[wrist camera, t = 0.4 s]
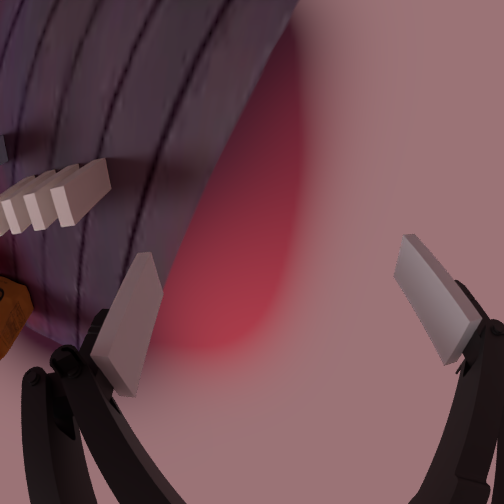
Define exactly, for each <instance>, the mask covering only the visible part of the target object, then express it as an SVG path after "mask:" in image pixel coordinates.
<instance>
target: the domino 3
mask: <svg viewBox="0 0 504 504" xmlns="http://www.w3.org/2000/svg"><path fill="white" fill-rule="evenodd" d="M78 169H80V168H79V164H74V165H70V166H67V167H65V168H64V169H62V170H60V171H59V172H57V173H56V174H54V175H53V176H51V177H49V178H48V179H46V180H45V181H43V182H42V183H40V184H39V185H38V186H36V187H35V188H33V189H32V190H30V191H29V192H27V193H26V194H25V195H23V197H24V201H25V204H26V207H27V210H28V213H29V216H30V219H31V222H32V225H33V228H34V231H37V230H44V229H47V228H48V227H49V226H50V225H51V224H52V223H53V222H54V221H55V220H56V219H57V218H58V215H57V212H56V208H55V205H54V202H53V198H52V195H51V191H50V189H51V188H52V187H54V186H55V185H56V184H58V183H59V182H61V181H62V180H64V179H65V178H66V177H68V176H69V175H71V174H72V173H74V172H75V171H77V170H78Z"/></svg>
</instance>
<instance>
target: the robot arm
mask: <svg viewBox="0 0 504 504" xmlns="http://www.w3.org/2000/svg"><path fill="white" fill-rule="evenodd" d="M394 278H395V279H396V281H397V282H398V284H399V285H400V287H401V289H402V291H403V292H404V294H405V295H406V297H407V299H408V300H409V302H410V304H411V305H412V307H413V309H414V311H415V312H416V314H417V316H418V317H419V319H420V321H421V323H422V325H423V326H424V328H425V330H426V332H427V334H428V335H429V337H430V339H431V341H432V343H433V344H434V346H435V348H436V350H437V352H438V354H439V356H440V358H441V360H442V362H443V364H444V365H448V364H451V363H454V362H457V360H458V359H459V357H460V356H461V354H462V353H463V355H464V357H465V359H464V361H463V362H462V364H461V365H460V367H459V368H458V370H457V371H456V374H458V372H459V371H460V370H461V371H460V376H459V380H458V385H457V389H456V392H455V396H454V400H453V403H452V407H451V410H450V414H449V417H448V420H447V423H446V426H445V429H444V432H443V435H442V438H441V440H440V443H439V446H438V448H437V451H436V453H435V456H434V458H433V461H432V463H431V465H430V468H429V470H428V472H427V475H426V477H425V479H424V481H423V483H422V485H421V487H420V489H419V491H418V493H417V494H416V495H415V496H414V497H413V498H412V500H411V501H410V502H409V503H408V504H486V503H487V501H488V498H489V495H490V486H489V485H488V484H487V483H486V479H487V475H488V472H489V469H490V465H491V462H492V458H493V454H494V450H495V446H496V442H497V460H496V472H495V481H494V488H493V495H492V502H491V504H504V324H503V323H502V322H500V321H498V320H495V319H491V320H490V319H489V317H488V316H487V314H486V313H485V312H484V310H483V309H482V307H481V306H480V305H479V303H478V302H477V301H476V300H475V298H474V297H473V296H472V294H470V292H469V290H468V289H467V288H466V287H465V285H463V284H462V283H461V282H459V281H458V280H453V278H452V277H451V276H450V275H449V273H447V271H446V270H445V268H444V267H443V266H442V265H441V264H440V262H439V261H438V260H437V259H436V258H435V257H434V255H433V254H432V253H431V252H430V251H429V250H428V248H427V247H426V246H425V245H424V244H423V243H422V242H421V241H420V239H419V238H418V237H417V236H416V235H415V234H408V235H403V238H402V243H401V247H400V252H399V256H398V261H397V264H396V269H395V273H394ZM162 297H163V290H162V287H161V284H160V281H159V278H158V274H157V271H156V267H155V264H154V261H153V257H152V253H151V252H144V253H137V255H136V257H135V259H134V261H133V263H132V265H131V266H130V268H129V270H128V272H127V274H126V276H125V278H124V280H123V282H122V285H121V287H120V289H119V291H118V293H117V295H116V297H115V299H114V301H113V303H112V306H111V308H110V309H102V310H101V311H100V312H99V313H98V314H97V315H96V316H95V318H94V320H93V322H92V324H91V327H90V328H89V330H88V334H87V335H86V337H85V339H84V341H83V344H82V346H81V348H80V350H79V352H78V350H77V349H76V347H75V346H72V345H63V346H61V347H59V348H58V349H56V350H55V351H54V352H53V354H52V355H51V358H50V366H51V367H52V368H53V370H54V371H55V372H54V373H49V374H47V373H46V372H45V371H44V370H43V369H42V368H40V367H33V368H31V369H29V370H28V371H27V372H26V373H25V375H24V377H23V380H22V395H21V398H22V399H21V419H22V420H21V421H22V422H21V424H22V444H23V456H24V465H25V473H26V480H27V486H28V492H29V498H30V502H31V504H97V500H96V497H95V494H94V491H93V487H92V484H91V480H90V476H89V473H88V468H87V464H86V460H85V455H84V451H83V446H82V441H81V436H80V430H81V433H82V435H83V437H84V440H85V441H86V444H87V446H88V448H89V450H90V452H91V454H92V456H93V458H94V460H95V462H96V464H97V466H98V468H99V469H100V471H101V473H102V475H103V476H104V479H105V480H106V482H107V483H108V485H109V487H110V489H111V490H112V492H113V494H114V495H115V497H116V499H117V500H118V502H119V503H120V504H186V503H185V502H184V500H183V499H182V498H181V497H180V496H179V494H178V493H177V492H176V491H175V490H174V488H173V487H172V486H171V485H170V483H169V482H168V481H167V479H166V478H165V477H164V475H163V474H162V473H161V472H160V470H159V469H158V467H157V466H156V465H155V463H154V462H153V461H152V459H151V458H150V456H149V455H148V453H147V452H146V451H145V449H144V448H143V446H142V445H141V443H140V442H139V440H138V439H137V437H136V435H135V434H134V432H133V431H132V429H131V427H130V426H129V424H128V422H127V421H126V419H125V418H124V416H123V414H122V412H121V411H120V409H119V407H118V405H117V404H116V402H115V400H114V399H113V397H112V393H113V389H114V390H115V391H116V392H117V393H118V395H119V396H126V397H136V393H137V388H138V384H139V380H140V376H141V372H142V368H143V364H144V361H145V357H146V353H147V349H148V346H149V341H150V338H151V334H152V331H153V328H154V324H155V320H156V317H157V314H158V310H159V307H160V304H161V301H162ZM79 428H80V430H79Z"/></svg>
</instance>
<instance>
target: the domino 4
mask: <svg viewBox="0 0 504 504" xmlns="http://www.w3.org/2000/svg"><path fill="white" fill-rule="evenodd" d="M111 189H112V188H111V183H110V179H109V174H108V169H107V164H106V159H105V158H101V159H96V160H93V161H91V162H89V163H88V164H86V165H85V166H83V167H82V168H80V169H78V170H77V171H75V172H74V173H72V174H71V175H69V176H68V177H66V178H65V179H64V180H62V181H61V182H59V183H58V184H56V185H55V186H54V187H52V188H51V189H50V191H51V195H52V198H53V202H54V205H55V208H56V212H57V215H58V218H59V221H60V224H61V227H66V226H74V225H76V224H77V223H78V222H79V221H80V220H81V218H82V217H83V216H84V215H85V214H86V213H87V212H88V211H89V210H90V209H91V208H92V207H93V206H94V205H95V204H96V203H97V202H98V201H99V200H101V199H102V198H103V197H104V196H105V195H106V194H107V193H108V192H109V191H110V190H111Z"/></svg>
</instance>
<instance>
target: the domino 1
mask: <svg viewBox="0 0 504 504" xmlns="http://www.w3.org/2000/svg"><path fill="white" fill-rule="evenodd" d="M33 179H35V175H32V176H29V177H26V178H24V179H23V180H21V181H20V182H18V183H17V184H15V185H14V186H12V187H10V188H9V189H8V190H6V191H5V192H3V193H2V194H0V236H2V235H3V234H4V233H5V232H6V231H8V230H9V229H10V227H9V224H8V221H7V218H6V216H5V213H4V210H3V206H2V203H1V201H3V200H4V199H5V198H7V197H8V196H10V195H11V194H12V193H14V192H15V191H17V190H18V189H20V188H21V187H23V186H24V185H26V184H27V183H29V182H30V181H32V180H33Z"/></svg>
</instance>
